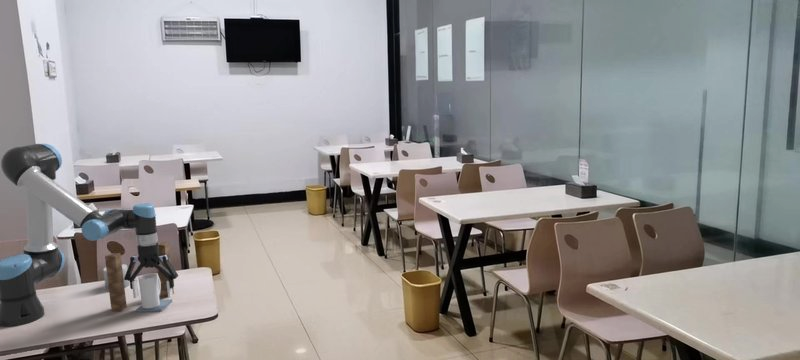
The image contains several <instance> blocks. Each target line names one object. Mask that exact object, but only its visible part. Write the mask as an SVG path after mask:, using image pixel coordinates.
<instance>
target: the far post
mask: <svg viewBox="0 0 800 360" xmlns="http://www.w3.org/2000/svg"><path fill="white" fill-rule="evenodd" d="M157 243H158V245H159V255H160V256H164V255H168V258H169V261H170V263H171V264H172V261H171V252H170V243H169V242H166V241H165V242H163V241H162V242H160V241H158V242H157ZM160 262H161V263H162V265H163V266H164V267H165V268H166V266H165V265H164V263H163V261H162V260H161V259H160ZM157 265H158V264H157ZM166 269H167V268H166ZM167 270H168V269H167ZM156 271H157V275H158V276H159V279H160V282H161V290H160V295H159V298H169V297H168V291H167V280H168V279H167V278H166V277H165V276H164V275H163V274H162V273H161V272H160V271H159V270H158V269H156ZM172 291H173V295H174V294H175V290H174V287H173V288H172Z"/></svg>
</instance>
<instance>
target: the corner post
mask: <svg viewBox="0 0 800 360" xmlns="http://www.w3.org/2000/svg"><path fill="white" fill-rule="evenodd" d="M104 260H105V262H104V263H105V267H106V270H107V278H108V286H109V290H108V292H109V295H108V296H109V300H110V309H111V312H123V311H124V310H125V309H126V308H127V306H128V305H127V297H126V290H125V289H126V288H124V279H123V271H122V255H121V253H120V252H116V253H115V252H114V253H111V252H110V253H108V254H106V255H105V256H104Z"/></svg>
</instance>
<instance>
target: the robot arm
mask: <svg viewBox="0 0 800 360" xmlns="http://www.w3.org/2000/svg"><path fill="white" fill-rule="evenodd" d="M62 163H63V159H62V156H61V152H60V151H59V150H58V149H57V148H56V147H55V146H53V145H51V144H48V143H35V144H34V143H33V144H27V145H23V146H16V147H12V148H10V149H8V150H7V151H6V152H5V153H4V155H2V158H1V161H0V166H1V170H2V172H3V174H4V176H5V177H6V178H7V179H8V180H9V181H10V182H11V183H12V184H14V185H15V186H17V188H19V189H25V202H26V203H25V205H26V207H25V208H26V231H27V244H26V245H24V246H23V253H19V254H18V253H17V254H14V255H12V256H7V257H5V258H2V259H1V260H0V326H2V327H14V326H20V325H26V324H28V323H31V322H35V321H37V320H39V319H40V318H42V317H43V316H44V315H46V314H45V307H44V306H43V304H42V303H41V301H40V298H39V297H38V295H37V291H36V290H37V288H36V285H37V284H39V283H42V282H44V281H45V280H48V279H50V278H51V279H52V278H53V277H54V276H56V275H57V274H59V273H60V272H61V271H62V270H63V268H64V266H65V262H66V259H65V254H64V252H62V250H61V249H60V248H59V245H58V243H56V242H55V241H54V226H53V225H54V222H53V220H54V219H53V209H54V210H55V211H57V212H58V213H60V214H61V215H63V216H64V217H65V218H66V219H68V220H70V221H71V222H73V223H74V224H76V225H77V226H78V227H80V229H81V234H82V235H83V237H84V238H85V239H86V240H88V241H92V242H94V241H99V240H102V239H104V238H106V237H107V236H110V235H112V234H114V233H117V232H119V231H121V230H135V236H136V238H135V239H136V244H137V247H136V248H137V255H138V256H136V255H135V254H134V255H132V256H131V257H129V259H130V260H129V265H128V266H127V269H128V270H127V272H126V275H125V277H124V280H128V281H129V287H130V289H131V290H132V294H133V295H132V296H133V298H134V299H136V298H138V297H139V295H140V291H139V286H138V285H139V283H138V279H136V278H137V276H138V275H139V274H140V273H141V271H142V270H143V269H144V268H145V269H148V268H149V269H151V268H152V269H153V268H155V269H156V270H157V269H158V270H159V271H160V272H161V273H162V274H163V275H164V276H165V277H166V278H167V279H168V280H167V291H168V297H167V298H171V297H172V296H173V295H174V294H173V291H172V288H173V289H174V287H175V282H174V281H175V280H176V279H177V278H178V277H179V274H178V273H177V271H176V269H175V267H174V266H173V265H172V262H171V263H170V261H169V258H168V255H164V256H160V255H159V245H158V243H159V238H158V229H157V221H156V219H157V217H156V216H157V214H156V212H155V211H156V210H155V206H154V204H152V203H149V202H147V203H146V202H145V203H138V204H134V205H133V207H132V209H117V208H112V209H107V210H105V211H104V213H102V214H100V213H99V212H98V211H96V210H95V209H93V208H92V207H91V206H89V205H87V204H86V203H85V202H84V201H82V200H81V199H79V198H78V197H76V195H74V194H73V193H71V192H70V191H68V190H67V189H66V188H64V187H62V186H61V185H60V184H58V182H56V181H55V180H56V179H57V173H56V172H57V171H58V170H59V169H60V168H61V167H62ZM160 259H161V260H162V261H163V263H164V265H165V266H166V268H167V269H168V270H167V269H166V268H165V267H164V266H163V265H162V263H161V262H160ZM137 262H139V263H140V264H138V266H137V268H136V269H135V271H134V268H135V265H136V263H137ZM157 264H158V265H157ZM158 270H157V271H158ZM133 271H134V272H133Z"/></svg>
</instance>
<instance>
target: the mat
mask: <svg viewBox="0 0 800 360" xmlns="http://www.w3.org/2000/svg"><path fill="white" fill-rule="evenodd" d="M159 301H160V305H159V306H157V307H154V308H149V309H145V308H143V307H142V304H141V305H139V306H138V307H137V308H136V309H135V312H136V313H139V312H140V313H142V312H143V313H144V312H146V313H147V312H163V311H164V310H165V309H166V308H167V307H168V306H169V305H170V304H171V303H172V302H173V299H159Z"/></svg>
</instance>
